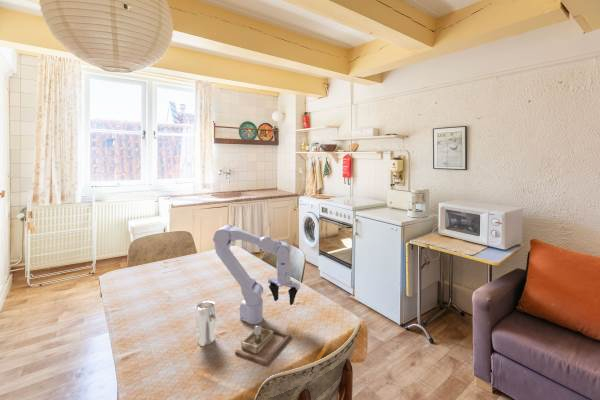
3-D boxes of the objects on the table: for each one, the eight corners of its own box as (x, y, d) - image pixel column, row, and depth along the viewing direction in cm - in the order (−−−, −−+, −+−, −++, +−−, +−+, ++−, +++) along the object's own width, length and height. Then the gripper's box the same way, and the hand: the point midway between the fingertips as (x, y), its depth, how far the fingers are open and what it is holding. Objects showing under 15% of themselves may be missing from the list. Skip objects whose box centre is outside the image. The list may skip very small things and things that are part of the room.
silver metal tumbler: (218, 336, 117) (217, 300, 115) (214, 347, 110) (212, 309, 108) (200, 336, 116) (199, 300, 114) (195, 347, 109) (193, 309, 107)
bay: (235, 356, 105) (235, 351, 105) (263, 330, 121) (263, 325, 121) (266, 368, 99) (266, 362, 99) (291, 338, 115) (291, 334, 115)
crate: (241, 348, 108) (241, 331, 107) (258, 332, 118) (258, 317, 117) (257, 354, 105) (257, 337, 104) (273, 337, 115) (273, 321, 114)
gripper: (263, 271, 123) (264, 302, 125) (294, 277, 117) (294, 310, 118) (272, 266, 129) (273, 295, 131) (302, 271, 123) (302, 302, 125)
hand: (283, 302), depth 125 cm, fingers open, 7 cm apart
